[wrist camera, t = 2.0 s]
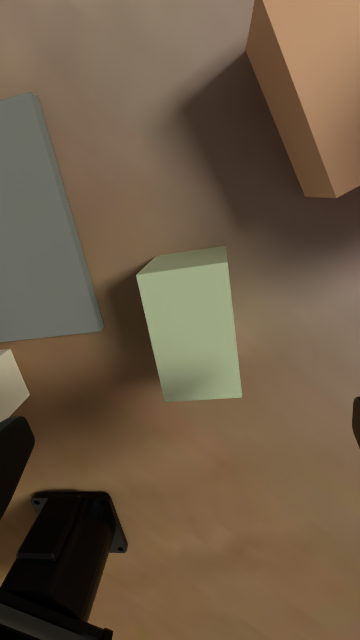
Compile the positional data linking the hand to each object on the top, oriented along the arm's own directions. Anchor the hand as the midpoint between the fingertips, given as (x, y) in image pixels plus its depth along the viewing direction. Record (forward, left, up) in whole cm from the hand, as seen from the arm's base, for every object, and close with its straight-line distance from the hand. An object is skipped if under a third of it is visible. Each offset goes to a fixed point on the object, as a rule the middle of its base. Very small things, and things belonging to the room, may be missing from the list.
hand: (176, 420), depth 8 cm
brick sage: (0, 0, -9) cm, 9 cm away
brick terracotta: (+8, -6, -9) cm, 13 cm away
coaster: (+5, +11, -8) cm, 15 cm away
